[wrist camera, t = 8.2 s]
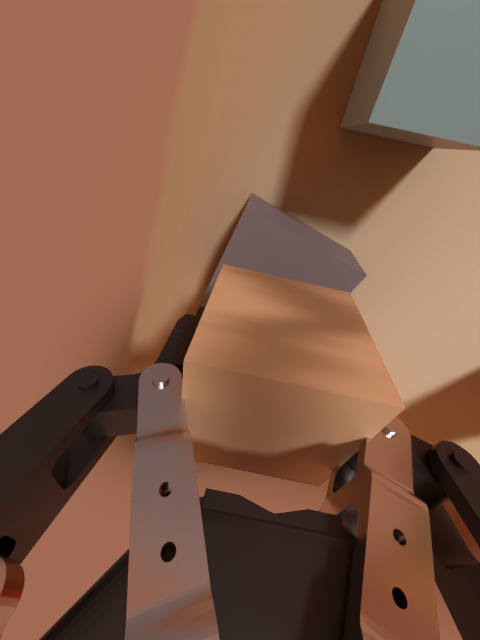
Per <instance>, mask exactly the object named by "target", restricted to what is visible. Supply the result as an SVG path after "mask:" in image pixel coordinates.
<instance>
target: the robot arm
mask: <svg viewBox="0 0 480 640" xmlns="http://www.w3.org/2000/svg"><path fill="white" fill-rule="evenodd" d="M204 310H205V307H204V306H200V307H199V309H198V311H197V314H196V316H194V315H189V314H186V315H184V316H183V317H182V318H180V319H179V320H178V322H177V323H176V325H175V327H174V330H173V331H172V333H171V335H170V337H169V338H168V340H167V342H166V344H165V346H164V348H163V350H162V352H161V353H160V355H159V357H158V359H157V361H156V363H155V364H153V365H151V366H149V367H147V368H146V369H145V370H144V371H143V372H142V373H139V374H134V375H123V376H113V375H112V373H111V372H110V371H109V370H108V369H107V368H105V367H101V366H88V367H84V368H81V369H79V370H77V371H75V372H73V373H72V374H70V375H69V376H68V377H67V378H66V379H65V380H63V381H62V382H61V383H60V384H59V385H58V386H56V388H54V389H53V390H52V391H51V392H49V393H48V394H47V395H46V396H45V397H44V398H43V399H41V400H40V401H39V402H38V403H37V404H35V405H34V406H33V407H32V408H31V409H30V410H28V411H27V412H26V413H25V414H24V415H23V416H21V417H20V418H19V419H18V420H17V421H16V422H14V423H13V424H12V425H11V426H10V427H9V428H8V429H6V430H5V431H4V432H3V433H1V434H0V638H1V635H2V633H3V630H4V629H5V626H6V624H7V623H8V621H9V619H10V617H11V616H12V614H13V612H14V610H15V609H16V607H17V605H18V602H19V600H20V598H21V595H22V592H23V587H24V581H25V578H24V571H23V568H22V566H21V565H20V564H21V563H22V561H23V560H24V559H25V557H26V556H27V555H28V553H29V552H30V551H31V549H32V548H33V547H34V545H35V544H36V543H37V541H38V540H39V539H40V537H41V536H42V534H43V533H44V532H45V531H46V529H47V528H48V527H49V525H50V524H51V523H52V521H53V520H54V519H55V517H56V516H57V515H58V513H59V512H60V511H61V509H62V508H63V507H64V505H65V504H66V503H67V501H68V500H69V499H70V497H71V496H72V495H73V494H74V492H75V491H76V490H77V488H78V487H79V485H80V484H81V483H82V482H83V480H84V479H85V478H86V476H87V475H88V474H89V472H90V471H91V470H92V468H93V467H94V466H95V464H96V463H97V462H98V460H99V459H100V458H101V456H102V455H103V454H104V452H105V451H106V450H107V448H108V447H109V445H110V444H111V443H112V442H113V440H114V439H115V438H116V437H117V436H118V435H125V434H133V433H137V437H136V440H135V444H134V456H133V479H132V501H131V523H130V524H131V525H130V546H129V549H128V550H127V551H126V552H125V553H124V554H123V555H122V556H121V557H120V559H118V560H117V561H116V562H115V563H114V564H113V565H112V566H111V567H110V569H108V571H107V572H106V573H105V574H104V575H103V576H102V577H101V578H100V579H99V580H98V581H97V582H96V583H95V584H94V585H93V586H92V587H91V588H90V589H89V590H88V591H87V592H86V593H85V594H84V595H83V596H82V597H81V598H80V599H79V600H78V601H77V602H76V603H75V604H74V605H73V606H72V607H71V608H70V609H69V610H68V611H67V612H66V613H65V614H64V615H63V616H62V617H61V618H60V619H59V620H58V621H57V622H56V623H55V624H54V625H53V626H52V627H51V628H50V630H48V631H47V632H46V633H45V634H44V635H43V636H42V637H41V638H40V639H39V640H440V635H439V623H438V611H437V599H436V588H435V582H436V584H437V586H438V588H439V590H440V592H441V594H442V596H443V598H444V601H445V603H446V605H447V607H448V609H449V611H450V613H451V615H452V618H453V620H454V622H455V624H456V626H457V628H458V630H459V632H460V635H461V636H462V639H463V640H480V562H479V561H477V559H476V558H475V557H474V556H473V555H472V553H471V552H470V550H469V548H468V547H467V545H466V543H465V542H464V540H463V538H462V537H461V535H460V533H459V532H458V530H457V528H456V527H455V525H454V523H453V521H452V520H451V518H450V516H449V514H448V513H447V511H446V510H445V508H444V506H443V503H446V502H448V501H450V500H451V502H452V503H453V505H454V506H455V508H456V510H457V511H458V513H459V514H460V516H461V518H462V519H463V521H464V522H465V524H466V526H467V527H468V529H469V530H470V532H471V534H472V536H473V537H474V539H475V541H476V542H477V543H478V546H479V548H480V465H479V463H478V462H477V461H476V460H475V459H474V458H473V456H472V455H471V454H469V453H468V452H467V451H466V450H465V449H463V448H462V447H460V446H459V445H457V444H455V443H453V442H449V441H441V442H439V443H437V444H436V445H434V446H433V445H431V444H429V443H427V442H425V441H423V440H421V439H419V438H417V437H415V436H413V435H411V434H410V432H409V430H408V428H407V427H406V425H405V424H404V423H403V422H402V421H401V420H400V419H399V418H398V417H397V416H396V417H395V418H394V419H393V420H392V421H391V422H390V423H389V424H387V425H386V426H385V427H384V428H383V429H382V430H381V431H380V432H379V433H377V434H376V435H375V436H374V437H373V438H366V439H365V440H364V441H363V442H362V443H361V444H360V445H359V451H357V452H356V453H355V454H354V455H353V456H352V457H351V458H350V459H349V460H347V461H346V462H345V463H344V464H343V465H342V466H340V465H337V466H336V467H335V468H334V469H333V470H332V473H331V477H330V482H329V486H328V491H327V494H326V497H325V499H324V501H323V502H322V504H321V506H320V508H319V511H314V510H309V509H308V510H300V511H293V512H285V513H278V514H277V513H276V514H275V513H272V512H269V511H268V510H266V509H264V508H262V507H260V506H259V505H257V504H255V503H253V502H251V501H249V500H248V499H246V498H244V497H242V496H240V495H236V494H232V493H227V492H222V491H217V490H212V489H206V491H205V495H204V497H199V492H198V485H197V477H196V469H195V463H194V453H193V446H192V438H191V433H190V430H189V429H188V424H187V416H186V408H185V399H182V380H183V362H184V358H185V356H186V353H187V351H188V349H189V346H190V344H191V341H192V339H193V336H194V334H195V332H196V329H197V327H198V324H199V322H200V319H201V317H202V315H203V312H204Z"/></svg>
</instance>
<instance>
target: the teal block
mask: <svg viewBox="0 0 480 640" xmlns="http://www.w3.org/2000/svg"><path fill="white" fill-rule="evenodd" d="M340 128H344V129H348V130H353V131H357V132H362V133H367V134H371V135H376V136H380V137H385V138H390V139H394V140H399V141H403V142H408V143H413V144H417V145H422V146H426V147H431V148H442V149H460V150H479V151H480V0H382V3H381V6H380V9H379V12H378V15H377V18H376V21H375V24H374V27H373V30H372V33H371V36H370V39H369V42H368V45H367V48H366V51H365V54H364V57H363V60H362V63H361V66H360V69H359V72H358V75H357V78H356V81H355V84H354V87H353V90H352V93H351V96H350V99H349V102H348V105H347V108H346V111H345V114H344V117H343V120H342V123H341V126H340Z"/></svg>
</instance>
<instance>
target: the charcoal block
mask: <svg viewBox="0 0 480 640" xmlns="http://www.w3.org/2000/svg"><path fill="white" fill-rule="evenodd" d="M223 264H224V265H229V266H233V267H238V268H242V269H247V270H251V271H256V272H260V273H265V274H269V275H273V276H278V277H282V278H287V279H291V280H296V281H300V282H305V283H309V284H314V285H318V286H323V287H327V288H332V289H336V290H341V291H345V292H349V293H351V291H352V290H353V289H354V288H355V287H356V286H357V285H358V284H359V283H360V282H361V281H362V280H363V279H364V278H365V277H366V276H367V275H366V274H365V272H364V271H363V269H362V268H361V266H360V265H359V263H358V261H357V260H356V258H355V257H354V255H353V254H352V252H351V251H350V250H349V249H347V248H345V247H343V246H342V245H340V244H338V243H337V242H335V241H333V240H331V239H330V238H328V237H326V236H325V235H323V234H321V233H320V232H318V231H316V230H314V229H313V228H311V227H309V226H308V225H306V224H304V223H302V222H301V221H299V220H297V219H296V218H294V217H292V216H290V215H289V214H287V213H285V212H284V211H282V210H280V209H278V208H277V207H275V206H273V205H272V204H270V203H268V202H266V201H265V200H263V199H261V198H260V197H258V196H256V195H255V194H253V193H252V194H251V196H250V198H249V200H248V203H247V205H246V207H245V209H244V211H243V213H242V215H241V217H240V219H239V222H238V224H237V226H236V228H235V230H234V232H233V234H232V236H231V239H230V241H229V243H228V245H227V247H226V249H225V251H224V253H223V255H222V258H221V260H220V262H219V264H218V266H217V268H216V270H215V272H214V274H213V277H212V279H211V281H210V283H209V285H208V287H207V289H206V291H205V294H204V296H203V298H202V300H201V302H200V304H199V306H198V309H199V307H200V306H204V307H206V305H207V302H208V300H209V298H210V295H211V293H212V290H213V288H214V285H215V283H216V280H217V278H218V276H219V273H220V271H221V268H222V266H223ZM198 309H197V311H198ZM197 311H196V314H197Z"/></svg>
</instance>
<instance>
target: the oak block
mask: <svg viewBox="0 0 480 640" xmlns="http://www.w3.org/2000/svg"><path fill="white" fill-rule="evenodd" d="M182 399H185V408H186V416H187V424H188V429H189V430H190V433H191V438H192V446H193V453H194V460H195V461H200V462H204V463H209V464H214V465H219V466H224V467H229V468H233V469H238V470H243V471H248V472H253V473H258V474H262V475H267V476H272V477H277V478H282V479H287V480H292V481H296V482H301V483H306V484H311V485H316V486H319V485H321V484H322V483H323V482H324V481H325V480H326V479H327V478H328V477H330V476H331V473H332V470H333V469H334V468H335V467H336V466H337V465H340V466H342V465H343V464H344V463H345V462H346V461H347V460H349V459H350V458H351V457H352V456H353V455H354V454H355V453H356V452H357V451H359V445H360V444H361V443H362V442H363V441H364V440H365V439H366V438H373V437H374V436H375V435H376V434H377V433H379V432H380V431H381V430H382V429H383V428H384V427H385V426H386V425H387V424H389V423H390V422H391V421H392V420H393V419H394V418H395V417H396V416H397V415H398V414H400V413H401V412H402V411H403V410H404V409H405V406H404V404H403V402H402V400H401V398H400V396H399V394H398V392H397V390H396V388H395V386H394V383H393V381H392V379H391V377H390V375H389V373H388V371H387V369H386V367H385V365H384V363H383V361H382V358H381V356H380V354H379V352H378V350H377V348H376V346H375V344H374V342H373V340H372V338H371V335H370V333H369V331H368V329H367V327H366V325H365V323H364V321H363V319H362V317H361V315H360V313H359V310H358V308H357V306H356V304H355V302H354V300H353V298H352V296H351V294H350V293H349V292H345V291H341V290H336V289H332V288H327V287H323V286H318V285H314V284H309V283H305V282H300V281H296V280H291V279H287V278H282V277H278V276H273V275H269V274H265V273H260V272H256V271H251V270H247V269H242V268H238V267H233V266H229V265H224V264H223V266H222V268H221V271H220V273H219V276H218V278H217V280H216V283H215V285H214V288H213V290H212V293H211V295H210V298H209V300H208V302H207V305H206V307H205V310H204V312H203V315H202V317H201V319H200V322H199V324H198V327H197V329H196V332H195V334H194V336H193V339H192V341H191V344H190V346H189V349H188V351H187V353H186V356H185V358H184V362H183V380H182Z"/></svg>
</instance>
